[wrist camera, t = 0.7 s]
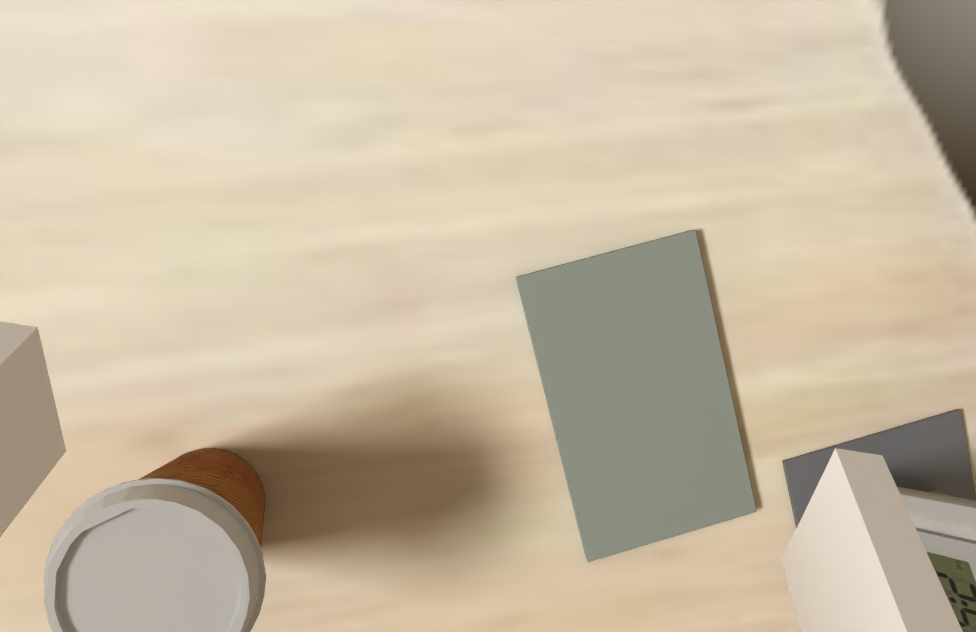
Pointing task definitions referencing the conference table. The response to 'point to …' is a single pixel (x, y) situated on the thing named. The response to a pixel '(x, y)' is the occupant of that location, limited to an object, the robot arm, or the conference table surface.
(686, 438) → the side mat
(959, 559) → the digital clock
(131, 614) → the disposable coffee cup
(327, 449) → the conference table surface
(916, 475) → the gray plate
